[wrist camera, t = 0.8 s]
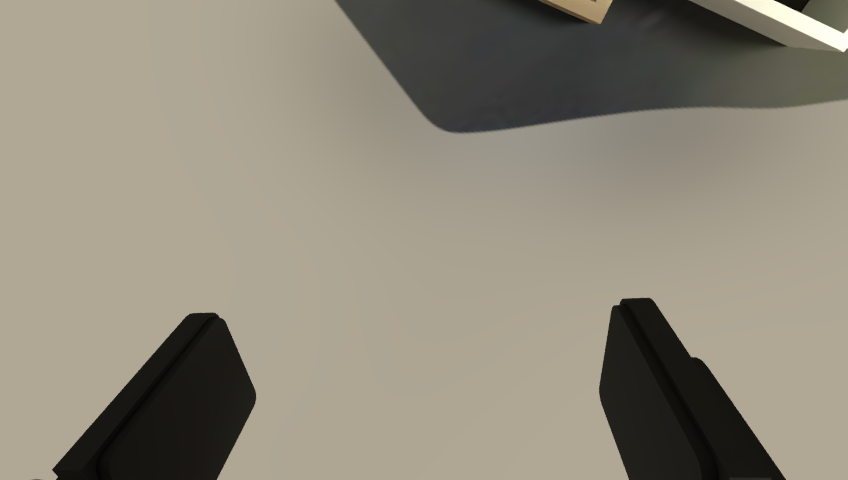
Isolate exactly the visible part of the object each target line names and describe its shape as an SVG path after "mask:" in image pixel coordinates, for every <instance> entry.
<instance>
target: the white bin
mask: <svg viewBox="0 0 848 480" xmlns="http://www.w3.org/2000/svg"><path fill="white" fill-rule="evenodd" d="M689 1H691V2H694V3H696V4H698V5H700V6H702V7H704V8H706V9H709V10H711V11H713V12H715V13H717V14H719V15H721V16H724V17H726V18H728V19H730V20H732V21H734V22H736V23H739V24H741V25H743V26H745V27H747V28H749V29H752V30H754V31H756V32H758V33H760V34H762V35H764V36H767V37H769V38H771V39H773V40H775V41H777V42H779V43H782V44H784V45H786V46H788V47H798V48H809V49H819V50H829V51H840V52H844V51H845V50H846V49H847V47H848V0H810V1H809V2H808V3H807V5H806V6H805V7H804V9H803V10H802V12H801V13H799V12H797V11H795V10H793V9H791V8H789V7H787V6H785V5H783V4H781V3H779V2H776V1H774V0H689Z"/></svg>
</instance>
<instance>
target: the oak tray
mask: <svg viewBox="0 0 848 480" xmlns="http://www.w3.org/2000/svg"><path fill="white" fill-rule="evenodd" d="M539 1H541V2H543V3H546V4H548V5H550V6H552V7H555V8H557V9H559V10H561V11H564V12H566V13H568V14H570V15H573V16H575V17H577V18H579V19H582V20H584V21H586V22H588V23H594V24H601V22H602V20H603V18H604V16H605V14H606V12H607V10H608V8H609V6H610V4H611V2H612V1H613V0H539Z"/></svg>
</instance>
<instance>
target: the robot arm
mask: <svg viewBox="0 0 848 480" xmlns="http://www.w3.org/2000/svg"><path fill="white" fill-rule="evenodd" d="M599 394H600V399H601V403H602V406H603V409H604V412H605V415H606V417H607V420H608V423H609V426H610V428H611V431H612V434H613V437H614V439H615V442H616V445H617V447H618V450H619V453H620V455H621V459H622V461H623V464H624V466H625V470H626V472H627V475H628V478H629V480H786V479H785V478H784V476H783V475H782V473H781V472H780V470H779V469H778V467H777V466H776V465H775V463H774V462H773V461H772V459H771V457H770V456H769V454H768V453H767V452H766V450H765V449H764V447H763V446H762V444H761V443H760V442H759V440H758V439H757V437H756V436H755V434H754V433H753V431H752V430H751V429H750V427H749V426H748V424H747V423H746V421H745V420H744V419H743V417H742V416H741V414H740V413H739V411H738V410H737V409H736V407H735V406H734V404H733V403H732V401H731V400H730V398H729V397H728V396H727V394H726V393H725V391H724V390H723V388H722V387H721V386H720V384H719V383H718V381H717V380H716V378H715V377H714V375H713V374H712V373H711V371H710V370H709V368H708V367H707V366H706V365H705V363H703V361H702V360H700V359H698V358H696V357H694V358H693V357H691V356H690V355H689V353H688V352H687V350H686V349H685V347H684V346H683V344H682V343H681V341H680V340H679V338H678V337H677V335H676V334H675V332H674V331H673V329H672V328H671V326H670V325H669V323H668V322H667V320H666V319H665V317H664V316H663V314H662V313H661V311H660V310H659V308H658V307H657V305H656V304H655V302H654V301H653V300H652V299H650V298H632V299H622V300H621V302H620V305H616V306H613V307H612V311H611V318H610V323H609V330H608V336H607V342H606V348H605V355H604V361H603V368H602V373H601V380H600V386H599ZM255 401H256V392H255V389H254V387H253V384H252V382H251V380H250V377H249V375H248V373H247V371H246V368H245V366H244V364H243V361H242V359H241V357H240V354H239V352H238V350H237V347H236V345H235V343H234V341H233V338H232V336H231V334H230V331H229V329H228V327H227V324H226V322H225V321H224V320H223V319H222V318H219V316H218V315H217V314H216V313H192V314H189V315H188V316H186V317H185V319H184V320H183V321H182V322H181V323H180V324H179V325H178V326H177V328H176V329H175V330H174V331H173V332H172V333H171V334H170V336H169V337H168V338H167V339H166V340H165V341H164V342H163V344H162V345H161V346H160V347H159V348H158V349H157V350H156V352H155V353H154V354H153V355H152V356H151V357H150V358H149V360H148V361H147V362H146V363H145V364H144V365H143V366H142V368H141V369H140V370H139V371H138V372H137V373H136V374H135V376H134V377H133V378H132V379H131V380H130V381H129V383H128V384H127V385H126V386H125V387H124V388H123V389H122V390H121V392H120V393H119V394H118V395H117V396H116V397H115V398H114V400H113V401H112V402H111V403H110V404H109V405H108V406H107V408H106V409H105V410H104V411H103V412H102V413H101V414H100V416H99V417H98V418H97V419H96V420H95V421H94V423H93V424H92V425H91V426H90V427H89V428H88V429H87V430H86V432H85V433H84V434H83V435H82V436H81V437H80V438H79V440H78V441H77V442H76V443H75V444H74V445H73V446H72V448H71V449H70V450H69V451H68V452H67V453H66V455H65V456H64V457H63V458H62V459H61V460H60V461H59V462H58V464H57V465H56V466H55V467H54V468H53V469H52V470H53V471H54V473H55V474H56V475H57V476H58V478H57V479H56V480H217V478H218V476H219V474H220V472H221V470H222V468H223V466H224V464H225V462H226V460H227V458H228V456H229V454H230V452H231V450H232V448H233V447H234V445H235V443H236V440H237V438H238V437H239V435H240V433H241V431H242V429H243V427H244V425H245V423H246V421H247V419H248V417H249V415H250V413H251V411H252V409H253V407H254V405H255ZM33 480H40V479H33Z"/></svg>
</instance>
